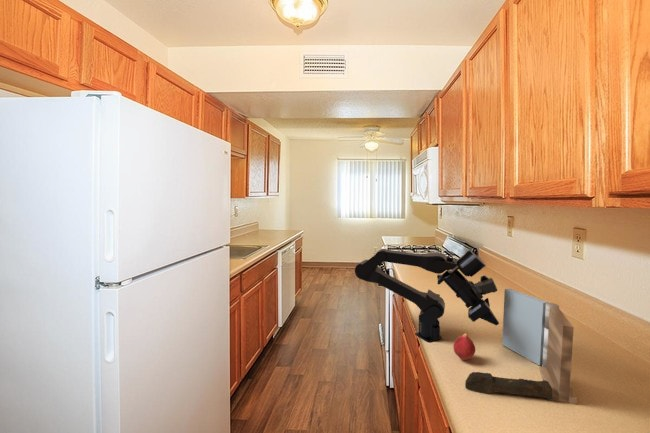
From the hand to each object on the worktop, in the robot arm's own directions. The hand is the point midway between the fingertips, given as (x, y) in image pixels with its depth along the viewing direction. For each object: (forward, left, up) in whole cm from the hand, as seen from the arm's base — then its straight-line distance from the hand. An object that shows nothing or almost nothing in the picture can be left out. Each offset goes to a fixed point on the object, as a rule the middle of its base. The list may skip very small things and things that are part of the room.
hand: (497, 324), depth 103 cm
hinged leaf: (+8, +2, -7) cm, 11 cm away
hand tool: (+16, -19, -8) cm, 26 cm away
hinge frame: (+19, -4, -8) cm, 21 cm away
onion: (0, -15, -8) cm, 17 cm away
